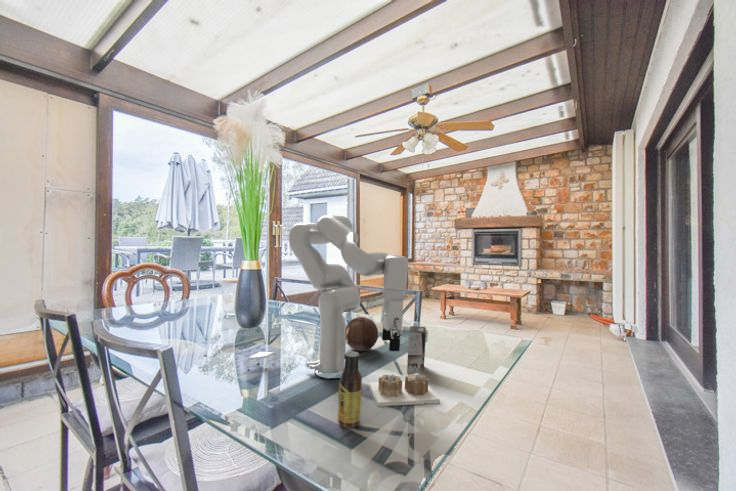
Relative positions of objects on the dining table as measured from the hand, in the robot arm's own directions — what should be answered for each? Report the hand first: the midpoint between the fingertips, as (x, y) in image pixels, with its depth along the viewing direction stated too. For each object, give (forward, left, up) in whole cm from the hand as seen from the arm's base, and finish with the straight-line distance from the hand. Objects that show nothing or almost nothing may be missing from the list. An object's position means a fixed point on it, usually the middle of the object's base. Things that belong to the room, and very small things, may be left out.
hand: (390, 345), depth 112 cm
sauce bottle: (-15, -15, -17) cm, 27 cm away
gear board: (+5, 0, -17) cm, 17 cm away
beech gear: (+1, 0, -15) cm, 15 cm away
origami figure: (-44, +27, -17) cm, 54 cm away
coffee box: (+16, +19, -17) cm, 30 cm away
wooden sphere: (-2, +42, -17) cm, 45 cm away
